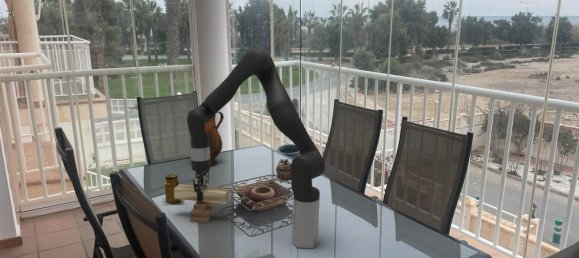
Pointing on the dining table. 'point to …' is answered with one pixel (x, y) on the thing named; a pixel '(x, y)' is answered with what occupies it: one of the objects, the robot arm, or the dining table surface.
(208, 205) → the stair steps
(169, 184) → the condiment
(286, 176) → the cupcake
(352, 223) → the dining table surface
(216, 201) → the batten
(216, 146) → the pitcher
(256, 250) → the dining table surface
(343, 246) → the dining table surface
